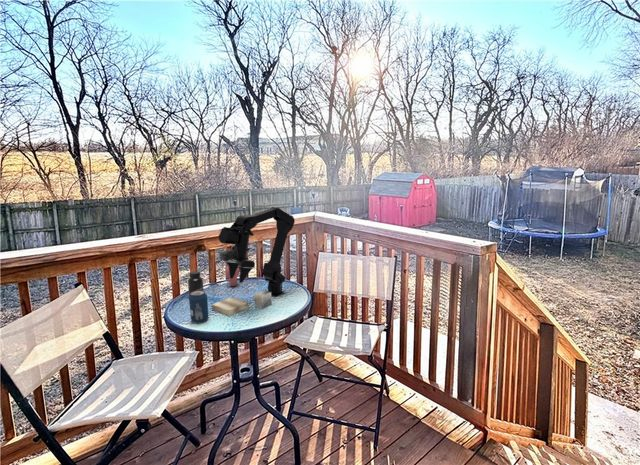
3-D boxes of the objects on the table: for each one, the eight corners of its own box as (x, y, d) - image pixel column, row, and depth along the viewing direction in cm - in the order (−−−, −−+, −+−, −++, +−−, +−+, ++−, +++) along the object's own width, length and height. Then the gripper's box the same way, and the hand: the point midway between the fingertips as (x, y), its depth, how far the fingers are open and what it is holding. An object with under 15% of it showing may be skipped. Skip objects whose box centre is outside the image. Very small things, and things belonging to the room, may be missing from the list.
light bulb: (227, 289, 189) (226, 266, 187) (225, 284, 196) (223, 262, 193) (242, 287, 192) (240, 264, 189) (239, 282, 198) (237, 260, 196)
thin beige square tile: (232, 302, 173) (232, 296, 172) (248, 307, 166) (248, 302, 166) (212, 309, 164) (212, 304, 164) (228, 316, 158) (228, 310, 157)
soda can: (203, 315, 159) (201, 288, 156) (212, 320, 154) (209, 292, 152) (187, 320, 154) (185, 292, 152) (196, 325, 149) (193, 297, 147)
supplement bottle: (199, 299, 176) (197, 275, 174) (186, 298, 177) (184, 274, 175) (206, 294, 183) (204, 270, 180) (193, 293, 184) (191, 270, 182)
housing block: (264, 302, 172) (263, 290, 171) (271, 304, 169) (271, 292, 168) (254, 306, 167) (254, 293, 166) (261, 309, 165) (261, 296, 163)
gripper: (215, 240, 165) (209, 275, 165) (233, 245, 150) (227, 284, 150) (238, 243, 172) (233, 276, 172) (258, 248, 157) (252, 285, 157)
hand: (235, 280), depth 163 cm, fingers open, 9 cm apart
